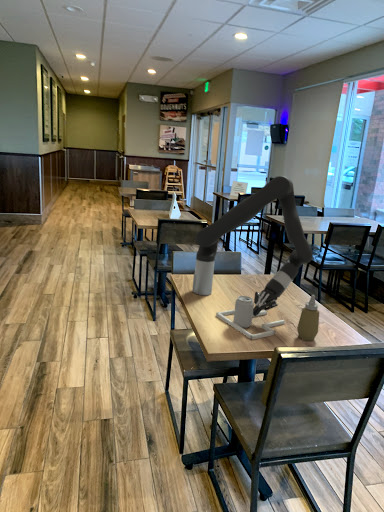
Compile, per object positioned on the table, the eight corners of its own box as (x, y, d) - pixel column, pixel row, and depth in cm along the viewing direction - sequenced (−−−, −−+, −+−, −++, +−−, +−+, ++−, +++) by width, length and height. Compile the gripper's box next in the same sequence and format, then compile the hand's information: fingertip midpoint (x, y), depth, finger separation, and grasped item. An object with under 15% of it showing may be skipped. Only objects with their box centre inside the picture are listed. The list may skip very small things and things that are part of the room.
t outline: (256, 308, 180) (257, 305, 180) (294, 329, 160) (295, 326, 160) (216, 315, 168) (216, 312, 168) (251, 339, 148) (252, 336, 148)
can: (254, 326, 161) (258, 299, 157) (242, 330, 156) (245, 302, 153) (241, 319, 166) (244, 293, 163) (229, 323, 161) (232, 296, 158)
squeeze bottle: (313, 344, 148) (321, 301, 144) (293, 338, 152) (299, 295, 148) (319, 337, 155) (326, 295, 151) (299, 331, 159) (305, 290, 155)
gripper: (264, 274, 169) (239, 303, 166) (285, 283, 158) (259, 315, 155) (271, 284, 173) (247, 313, 170) (293, 294, 162) (267, 325, 159)
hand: (253, 314), depth 162 cm, fingers closed
